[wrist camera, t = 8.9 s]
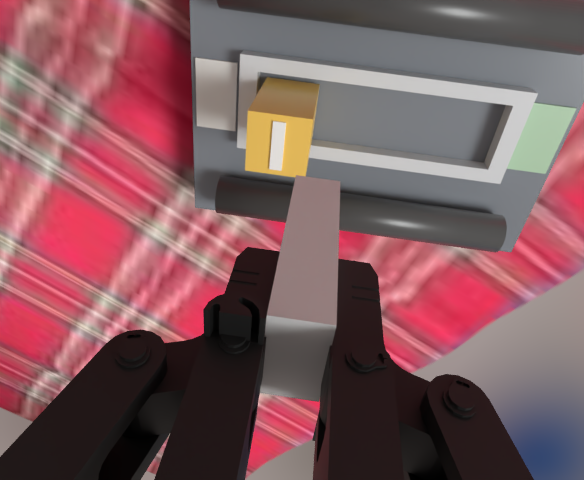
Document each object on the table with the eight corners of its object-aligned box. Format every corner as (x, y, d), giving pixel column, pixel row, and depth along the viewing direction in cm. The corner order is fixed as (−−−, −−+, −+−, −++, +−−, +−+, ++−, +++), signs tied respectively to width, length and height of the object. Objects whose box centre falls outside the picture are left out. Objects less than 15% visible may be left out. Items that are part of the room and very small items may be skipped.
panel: (204, 190, 33) (184, 225, 29) (201, -72, 24) (171, -75, 20) (500, 232, 32) (522, 274, 28) (613, -20, 23) (670, -12, 19)
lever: (263, 128, 27) (244, 171, 22) (267, 76, 25) (247, 111, 20) (312, 134, 26) (305, 179, 21) (319, 83, 25) (313, 120, 20)
